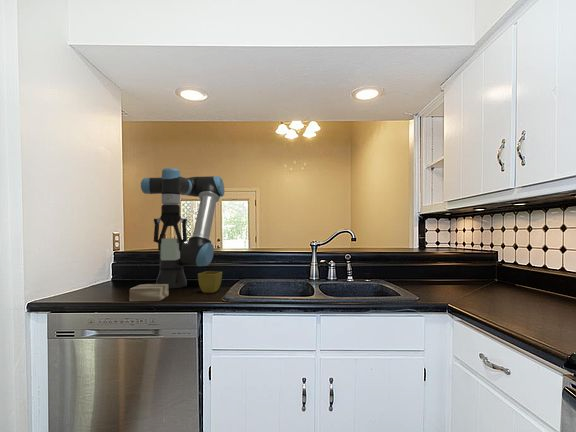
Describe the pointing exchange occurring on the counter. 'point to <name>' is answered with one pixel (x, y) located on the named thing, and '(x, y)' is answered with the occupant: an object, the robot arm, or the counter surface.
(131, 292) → the base block
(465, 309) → the counter surface
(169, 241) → the sage block
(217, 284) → the flower pot
